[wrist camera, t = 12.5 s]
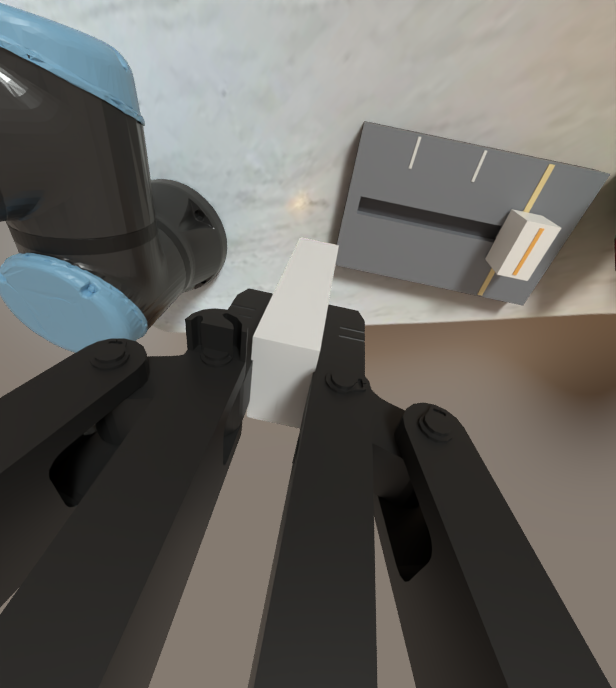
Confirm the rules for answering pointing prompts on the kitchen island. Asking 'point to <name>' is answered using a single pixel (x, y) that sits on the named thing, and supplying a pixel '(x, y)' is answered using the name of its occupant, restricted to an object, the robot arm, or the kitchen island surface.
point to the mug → (615, 251)
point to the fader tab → (521, 244)
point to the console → (452, 209)
